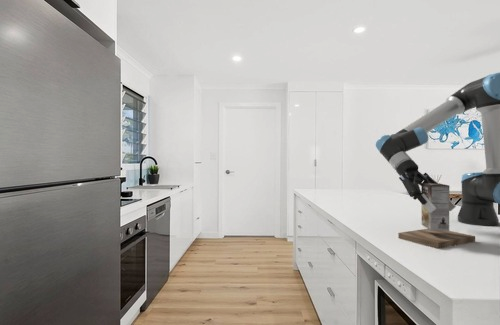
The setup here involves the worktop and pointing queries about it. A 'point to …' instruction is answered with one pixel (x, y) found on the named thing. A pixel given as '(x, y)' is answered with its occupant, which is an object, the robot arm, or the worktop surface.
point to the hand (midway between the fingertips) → (443, 209)
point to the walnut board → (436, 238)
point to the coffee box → (440, 200)
